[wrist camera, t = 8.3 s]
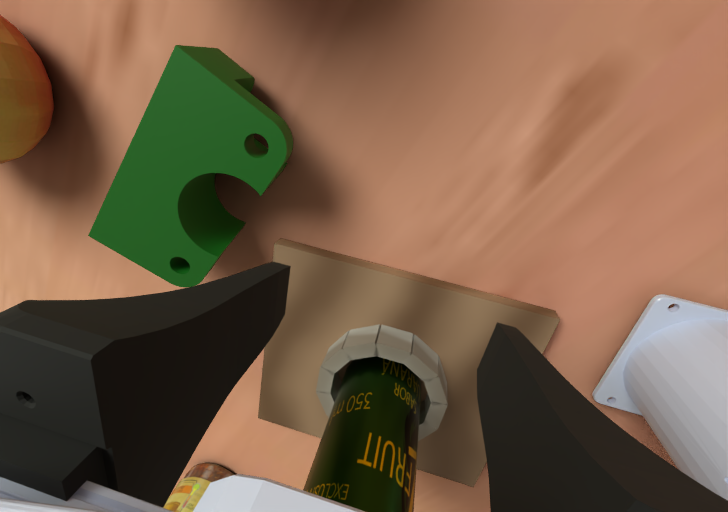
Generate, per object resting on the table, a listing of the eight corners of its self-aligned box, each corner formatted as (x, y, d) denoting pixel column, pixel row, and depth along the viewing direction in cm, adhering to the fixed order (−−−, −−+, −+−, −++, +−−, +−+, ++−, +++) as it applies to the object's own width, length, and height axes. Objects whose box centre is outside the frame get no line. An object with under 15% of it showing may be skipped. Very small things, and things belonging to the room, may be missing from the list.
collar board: (555, 310, 22) (571, 339, 19) (472, 475, 28) (476, 514, 26) (280, 238, 23) (259, 255, 21) (263, 408, 30) (246, 438, 27)
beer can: (386, 417, 26) (349, 633, 16) (332, 373, 26) (254, 566, 15) (438, 381, 24) (437, 603, 13) (380, 331, 24) (329, 522, 13)
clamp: (255, 212, 27) (185, 305, 22) (185, 163, 26) (87, 250, 20) (333, 98, 19) (251, 200, 13) (235, 14, 17) (91, 88, 11)
